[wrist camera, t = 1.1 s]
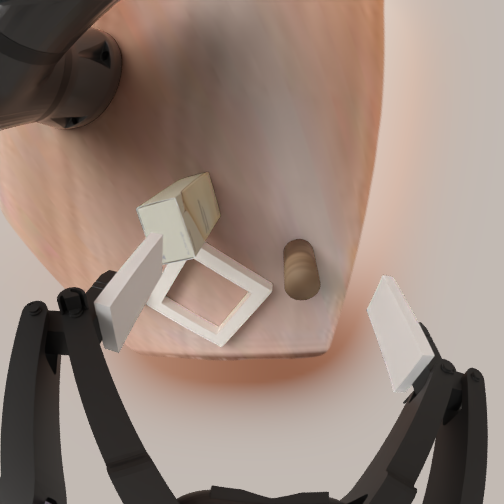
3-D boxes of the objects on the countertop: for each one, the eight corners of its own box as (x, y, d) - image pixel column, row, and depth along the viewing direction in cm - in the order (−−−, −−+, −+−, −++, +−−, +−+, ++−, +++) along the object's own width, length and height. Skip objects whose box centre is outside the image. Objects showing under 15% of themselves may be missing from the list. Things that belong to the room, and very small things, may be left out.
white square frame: (150, 297, 44) (145, 304, 43) (187, 230, 39) (183, 236, 37) (223, 339, 47) (221, 347, 45) (272, 283, 41) (272, 291, 39)
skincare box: (221, 215, 37) (198, 260, 26) (190, 222, 38) (157, 268, 27) (208, 169, 35) (176, 196, 24) (176, 178, 35) (134, 208, 25)
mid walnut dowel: (277, 255, 39) (277, 288, 32) (295, 233, 38) (299, 263, 30) (300, 270, 40) (305, 305, 33) (319, 249, 38) (327, 282, 31)
